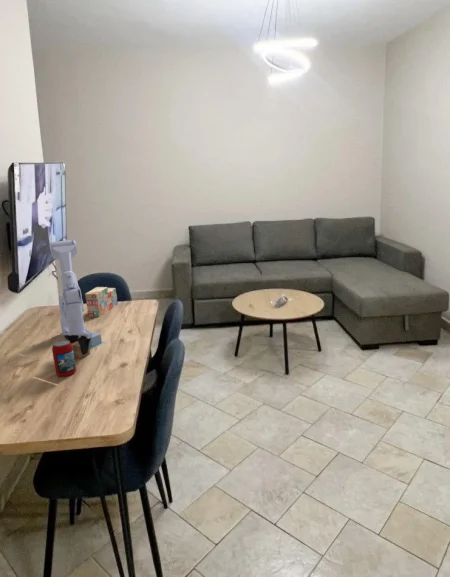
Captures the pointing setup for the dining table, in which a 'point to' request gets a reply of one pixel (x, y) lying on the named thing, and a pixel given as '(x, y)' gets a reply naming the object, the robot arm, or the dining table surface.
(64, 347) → the beverage can
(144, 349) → the dining table surface
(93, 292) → the stack of blocks
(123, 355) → the dining table surface
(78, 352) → the walnut cube
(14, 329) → the dining table surface
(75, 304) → the robot arm
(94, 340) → the base block
